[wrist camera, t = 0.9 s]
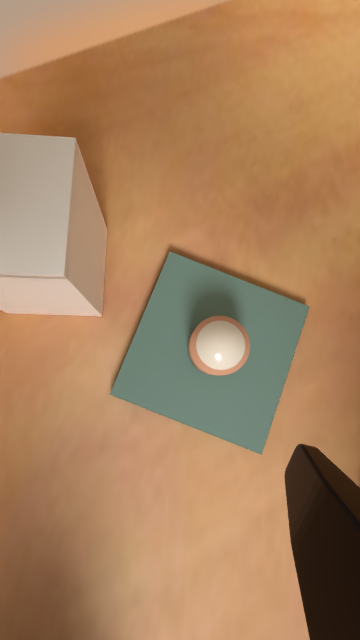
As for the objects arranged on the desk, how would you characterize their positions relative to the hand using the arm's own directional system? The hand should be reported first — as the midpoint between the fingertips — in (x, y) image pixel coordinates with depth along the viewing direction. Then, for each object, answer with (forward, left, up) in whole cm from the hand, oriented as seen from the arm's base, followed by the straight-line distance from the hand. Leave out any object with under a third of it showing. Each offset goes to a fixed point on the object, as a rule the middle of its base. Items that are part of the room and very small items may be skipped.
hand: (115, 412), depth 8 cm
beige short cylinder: (+5, -2, -13) cm, 14 cm away
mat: (+5, -2, -13) cm, 14 cm away
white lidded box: (+2, +9, -13) cm, 17 cm away
